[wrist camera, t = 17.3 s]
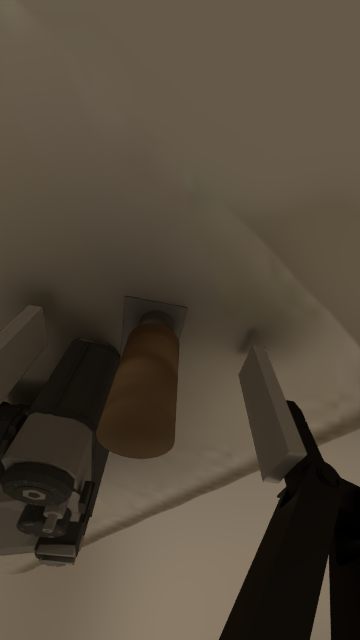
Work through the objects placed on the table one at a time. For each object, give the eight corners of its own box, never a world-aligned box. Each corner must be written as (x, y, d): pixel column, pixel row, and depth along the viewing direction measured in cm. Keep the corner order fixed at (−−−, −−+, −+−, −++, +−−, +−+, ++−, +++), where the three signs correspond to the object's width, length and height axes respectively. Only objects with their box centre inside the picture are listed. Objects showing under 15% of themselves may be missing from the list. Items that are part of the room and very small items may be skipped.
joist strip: (114, 438, 25) (113, 439, 25) (125, 296, 15) (125, 296, 15) (152, 443, 25) (152, 444, 25) (186, 307, 16) (186, 308, 16)
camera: (-16, 319, 17) (-212, 473, 9) (127, 345, 18) (74, 508, 10) (19, 437, 25) (-63, 571, 17) (114, 451, 26) (80, 584, 18)
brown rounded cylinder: (131, 338, 17) (95, 452, 11) (136, 301, 15) (96, 409, 9) (174, 347, 17) (166, 462, 11) (185, 311, 16) (182, 423, 9)
